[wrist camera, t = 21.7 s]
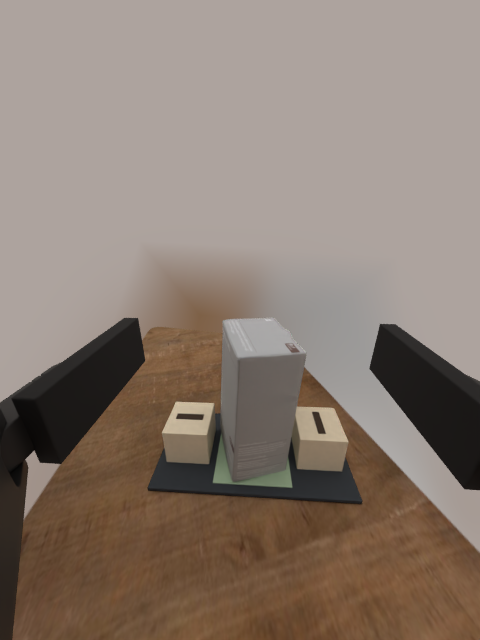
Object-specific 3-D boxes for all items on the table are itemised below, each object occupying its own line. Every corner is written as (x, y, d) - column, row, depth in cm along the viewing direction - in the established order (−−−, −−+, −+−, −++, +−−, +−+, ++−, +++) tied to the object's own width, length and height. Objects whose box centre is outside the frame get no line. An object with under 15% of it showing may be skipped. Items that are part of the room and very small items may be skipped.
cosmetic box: (219, 426, 32) (214, 318, 26) (269, 417, 34) (274, 313, 28) (231, 488, 25) (228, 356, 19) (295, 473, 26) (309, 345, 20)
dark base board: (147, 490, 25) (140, 456, 23) (179, 413, 35) (175, 386, 33) (361, 504, 24) (371, 469, 22) (330, 420, 34) (334, 391, 32)
